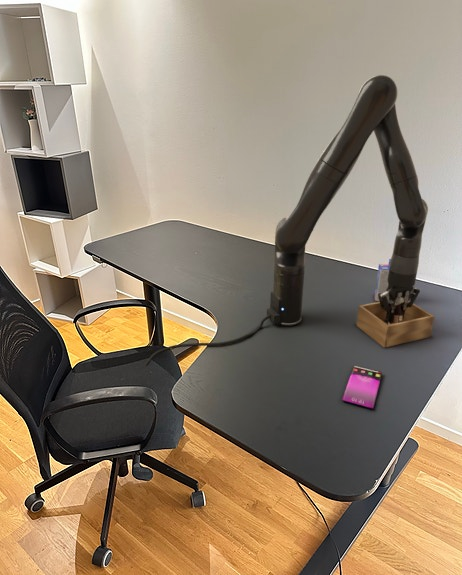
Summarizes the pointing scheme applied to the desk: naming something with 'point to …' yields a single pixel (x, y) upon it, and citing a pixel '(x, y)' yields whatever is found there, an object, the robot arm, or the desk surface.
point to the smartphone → (362, 387)
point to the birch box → (398, 333)
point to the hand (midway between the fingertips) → (394, 320)
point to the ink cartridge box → (382, 279)
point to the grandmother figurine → (398, 312)
